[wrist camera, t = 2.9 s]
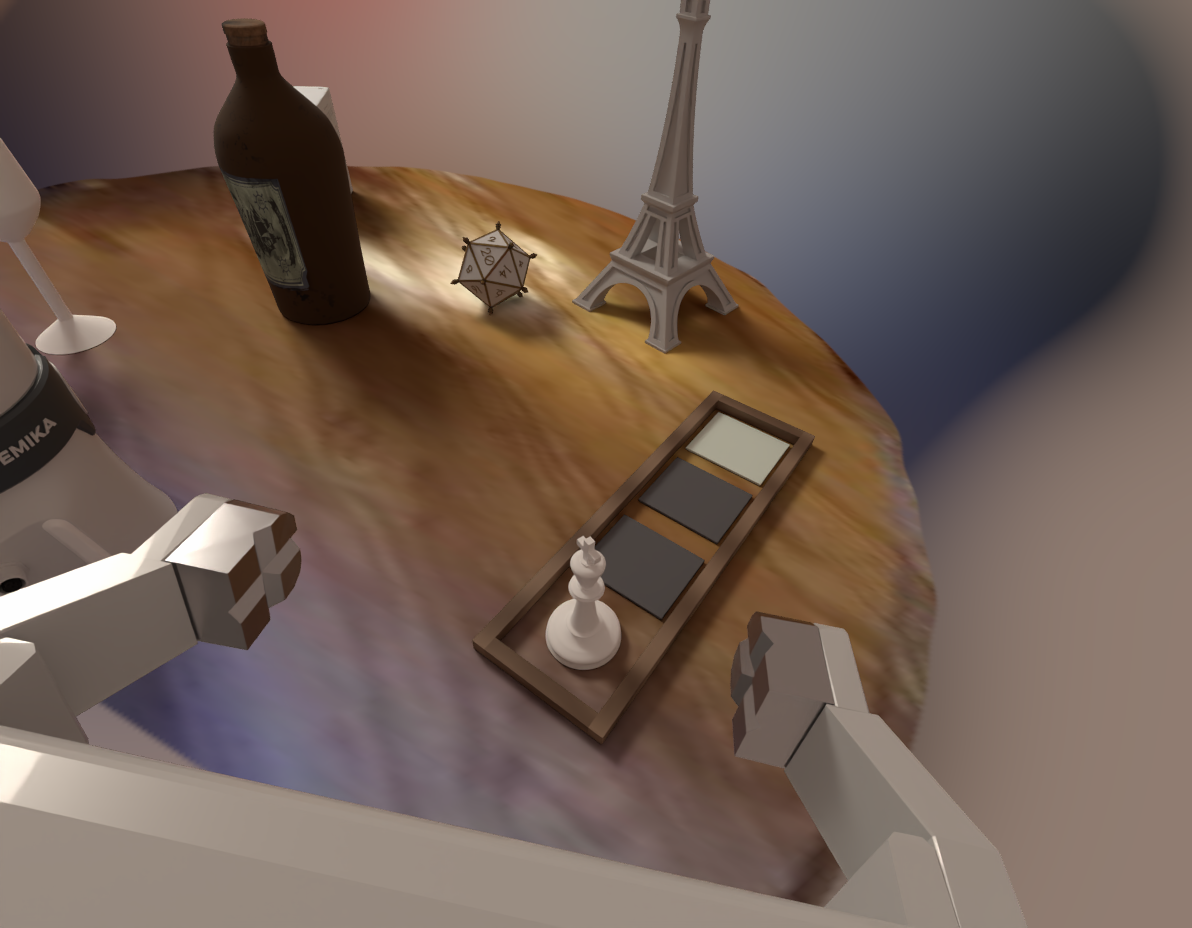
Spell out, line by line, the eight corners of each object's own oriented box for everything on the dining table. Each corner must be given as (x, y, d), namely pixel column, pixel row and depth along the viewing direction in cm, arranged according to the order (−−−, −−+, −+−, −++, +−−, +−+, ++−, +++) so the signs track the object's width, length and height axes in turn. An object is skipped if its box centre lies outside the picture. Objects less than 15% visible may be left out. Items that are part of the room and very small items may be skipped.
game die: (515, 332, 71) (554, 289, 63) (443, 321, 66) (476, 273, 58) (508, 265, 73) (545, 214, 65) (438, 250, 69) (469, 194, 61)
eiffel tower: (572, 303, 69) (579, -39, 48) (648, 265, 76) (684, -48, 55) (664, 354, 63) (720, -11, 42) (737, 308, 70) (817, -26, 49)
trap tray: (601, 744, 35) (602, 738, 35) (473, 647, 39) (472, 640, 39) (811, 444, 54) (815, 436, 54) (711, 398, 58) (713, 390, 57)
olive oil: (326, 268, 72) (251, 3, 54) (397, 294, 69) (342, 22, 51) (250, 309, 65) (136, 22, 47) (324, 340, 62) (232, 45, 44)
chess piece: (592, 590, 43) (599, 493, 36) (636, 643, 40) (653, 551, 33) (531, 625, 41) (526, 530, 34) (573, 685, 38) (577, 595, 31)
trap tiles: (661, 620, 41) (661, 618, 41) (577, 567, 44) (577, 565, 44) (751, 496, 50) (752, 495, 50) (676, 458, 52) (677, 457, 52)
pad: (759, 486, 51) (760, 484, 50) (685, 449, 53) (685, 447, 53) (789, 446, 54) (789, 444, 54) (718, 413, 57) (718, 411, 57)
